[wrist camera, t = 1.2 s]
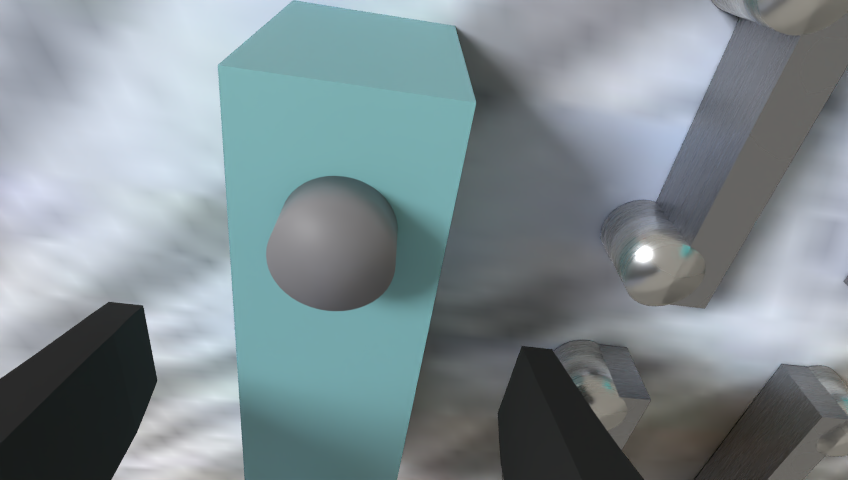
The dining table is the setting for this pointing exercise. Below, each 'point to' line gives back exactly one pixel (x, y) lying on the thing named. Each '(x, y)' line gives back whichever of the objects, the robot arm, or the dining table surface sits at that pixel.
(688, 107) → the dining table surface
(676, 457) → the dining table surface
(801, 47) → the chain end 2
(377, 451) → the teal studded beam
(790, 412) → the chain end
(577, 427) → the robot arm
